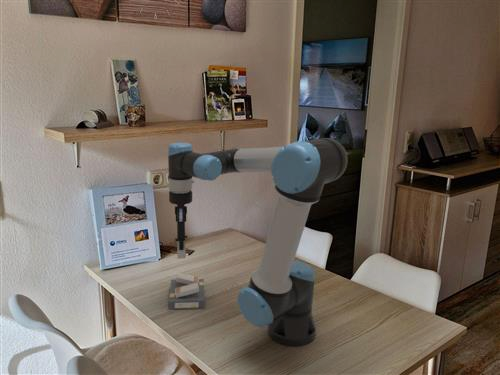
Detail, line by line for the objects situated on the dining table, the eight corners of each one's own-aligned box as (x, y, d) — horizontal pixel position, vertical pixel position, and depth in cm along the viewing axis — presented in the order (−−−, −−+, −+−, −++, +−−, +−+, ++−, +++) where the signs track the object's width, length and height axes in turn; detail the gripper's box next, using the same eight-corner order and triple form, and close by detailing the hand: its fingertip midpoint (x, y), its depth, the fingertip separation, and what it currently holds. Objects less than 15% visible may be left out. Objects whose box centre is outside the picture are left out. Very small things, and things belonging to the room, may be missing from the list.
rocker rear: (197, 286, 160) (198, 282, 159) (175, 281, 158) (177, 277, 158) (197, 281, 163) (198, 277, 163) (176, 276, 162) (177, 272, 162)
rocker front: (198, 291, 151) (197, 287, 151) (176, 298, 151) (174, 293, 151) (198, 286, 155) (197, 281, 155) (176, 292, 155) (175, 287, 154)
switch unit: (204, 308, 151) (204, 298, 150) (168, 310, 149) (168, 299, 148) (203, 286, 166) (203, 276, 165) (171, 287, 165) (171, 277, 164)
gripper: (192, 195, 138) (193, 265, 144) (191, 185, 151) (192, 249, 157) (168, 196, 137) (169, 266, 143) (169, 185, 150) (170, 250, 156)
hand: (181, 257), depth 150 cm, fingers closed
